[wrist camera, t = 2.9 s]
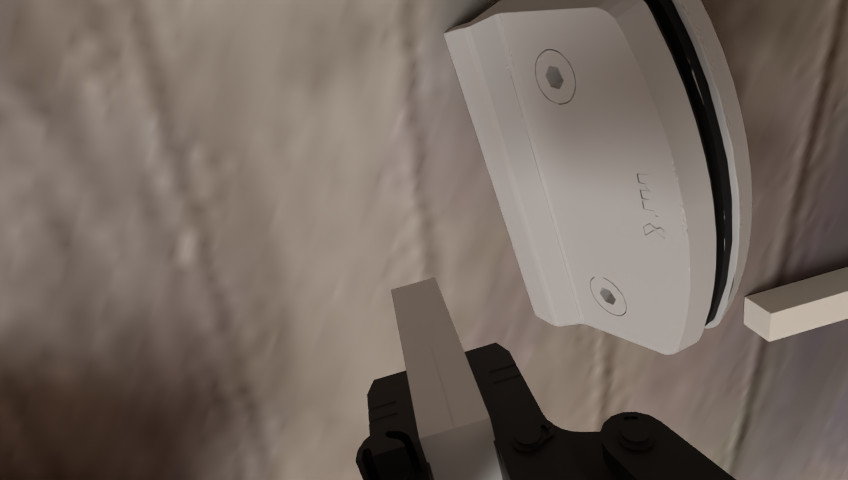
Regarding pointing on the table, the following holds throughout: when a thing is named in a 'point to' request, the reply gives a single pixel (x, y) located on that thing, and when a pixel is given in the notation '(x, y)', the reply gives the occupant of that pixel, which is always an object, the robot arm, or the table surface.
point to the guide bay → (798, 305)
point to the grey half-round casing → (613, 160)
